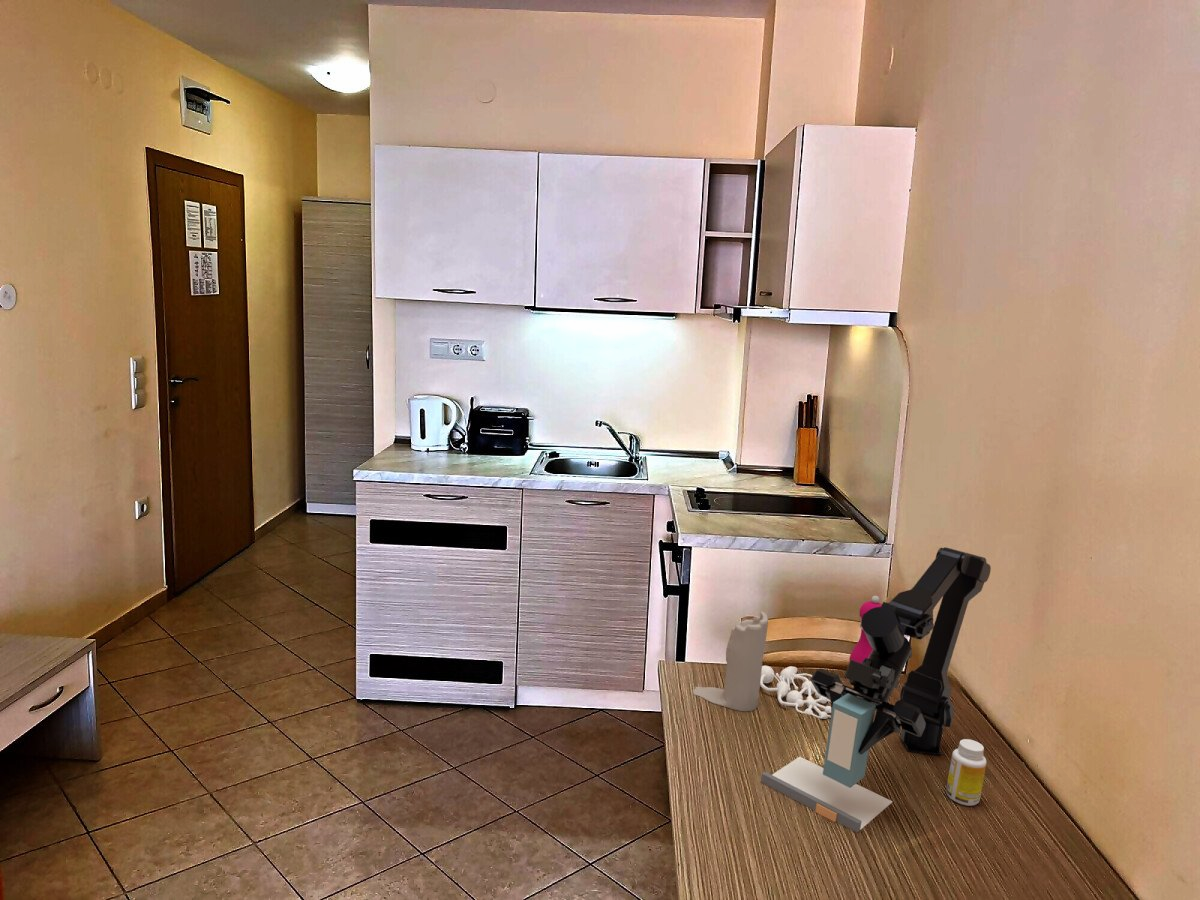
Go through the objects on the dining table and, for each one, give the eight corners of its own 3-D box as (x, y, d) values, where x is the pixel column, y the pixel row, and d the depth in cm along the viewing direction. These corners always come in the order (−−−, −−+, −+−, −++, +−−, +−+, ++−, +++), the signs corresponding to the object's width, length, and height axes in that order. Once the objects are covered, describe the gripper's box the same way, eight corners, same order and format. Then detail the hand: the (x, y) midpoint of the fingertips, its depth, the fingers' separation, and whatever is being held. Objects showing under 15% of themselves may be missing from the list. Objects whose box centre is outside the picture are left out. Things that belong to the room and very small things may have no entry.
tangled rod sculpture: (852, 725, 178) (857, 707, 177) (791, 725, 174) (796, 706, 173) (804, 680, 196) (808, 663, 195) (748, 678, 192) (752, 661, 191)
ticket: (815, 815, 143) (817, 803, 142) (835, 825, 140) (837, 813, 140) (814, 815, 143) (816, 803, 142) (834, 826, 140) (836, 814, 140)
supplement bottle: (986, 803, 151) (996, 750, 149) (963, 810, 149) (973, 755, 147) (960, 786, 156) (970, 734, 154) (938, 791, 154) (947, 739, 152)
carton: (837, 763, 147) (847, 693, 145) (864, 776, 144) (875, 704, 141) (822, 774, 144) (832, 702, 141) (849, 788, 140) (861, 715, 138)
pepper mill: (881, 688, 193) (895, 603, 189) (848, 683, 195) (860, 598, 191) (877, 674, 200) (890, 592, 196) (845, 669, 202) (858, 588, 198)
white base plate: (798, 762, 159) (800, 748, 159) (891, 807, 148) (894, 793, 147) (760, 788, 150) (762, 773, 149) (856, 839, 138) (858, 823, 138)
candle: (698, 683, 188) (708, 596, 184) (761, 701, 182) (772, 611, 178) (687, 696, 181) (697, 606, 178) (751, 715, 176) (763, 622, 172)
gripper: (823, 623, 148) (781, 702, 143) (929, 662, 136) (888, 750, 130) (839, 654, 156) (799, 731, 150) (941, 694, 143) (903, 778, 137)
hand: (844, 746), depth 142 cm, fingers closed on carton, 5 cm apart
